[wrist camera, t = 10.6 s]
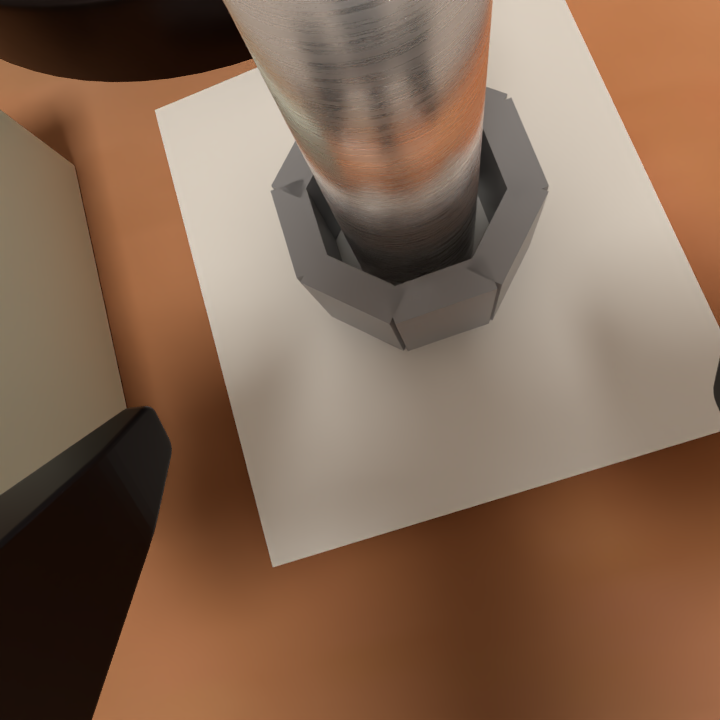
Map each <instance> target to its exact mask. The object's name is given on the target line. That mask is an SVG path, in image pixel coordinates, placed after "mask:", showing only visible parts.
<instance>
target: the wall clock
mask: <svg viewBox="0 0 720 720" xmlns="http://www.w3.org/2000/svg"><path fill="white" fill-rule="evenodd" d="M0 59H2V60H5V61H7V62H9V63H12V64H15V65H18V66H21V67H24V68H27V69H30V70H33V71H36V72H41V73H45V74H49V75H53V76H58V77H64V78H71V79H78V80H86V81H104V82H132V81H149V80H159V79H169V78H175V77H181V76H186V75H192V74H198V73H203V72H207V71H211V70H215V69H219V68H223V67H227V66H231V65H234V64H237V63H240V62H243V61H246V60H249V59H252V56H251V54H250V52H249V50H248V48H247V46H246V44H245V42H244V40H243V38H242V36H241V35H240V33H239V31H238V29H237V27H236V25H235V23H234V21H233V19H232V17H231V15H230V13H229V11H228V9H227V7H226V5H225V4H224V2H223V0H0Z"/></svg>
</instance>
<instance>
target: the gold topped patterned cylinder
mask: <svg viewBox="0 0 720 720" xmlns="http://www.w3.org/2000/svg"><path fill="white" fill-rule="evenodd" d="M223 2H224V4H225V5H226V7H227V9H228V11H229V13H230V15H231V17H232V19H233V21H234V23H235V25H236V27H237V29H238V31H239V33H240V35H241V36H242V38H243V40H244V42H245V44H246V46H247V48H248V50H249V52H250V54H251V56H252V58H253V60H254V62H255V64H256V65H257V67H258V69H259V71H260V73H261V75H262V77H263V79H264V81H265V83H266V85H267V87H268V89H269V91H270V93H271V95H272V96H273V98H274V100H275V102H276V104H277V106H278V108H279V110H280V112H281V114H282V116H283V118H284V120H285V122H286V124H287V125H288V127H289V129H290V131H291V133H292V135H293V137H294V139H295V141H296V143H297V145H298V147H299V149H300V151H301V153H302V154H303V156H304V158H305V160H306V162H307V164H308V166H309V168H310V170H311V172H312V174H313V176H314V178H315V180H316V182H317V184H318V185H319V187H320V189H321V191H322V193H323V195H324V197H325V199H326V201H327V203H328V205H329V207H330V209H331V211H332V213H333V214H334V216H335V218H336V220H337V222H338V224H339V226H340V228H341V230H342V232H343V234H344V236H345V238H346V240H347V242H348V244H349V245H350V247H351V249H352V251H353V253H354V255H355V257H356V259H357V261H358V263H359V265H360V267H361V269H362V271H364V272H366V273H368V274H370V275H373V276H375V277H377V278H379V279H381V280H384V281H386V282H388V283H390V284H393V285H395V286H396V285H399V284H402V283H405V282H407V281H410V280H413V279H416V278H419V277H421V276H424V275H427V274H430V273H433V272H435V271H438V270H441V269H444V268H447V267H450V266H452V265H455V264H458V263H461V262H464V261H466V260H469V259H471V257H472V253H473V246H474V234H475V221H476V209H477V196H478V183H479V170H480V157H481V144H482V132H483V119H484V106H485V93H486V80H487V67H488V55H489V42H490V29H491V16H492V3H493V0H223Z"/></svg>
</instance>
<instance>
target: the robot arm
mask: <svg viewBox="0 0 720 720" xmlns="http://www.w3.org/2000/svg"><path fill="white" fill-rule="evenodd" d="M713 393H714V399H715V402H716V404H717V407H718V409H719V411H720V358H719V363H718V367H717V372H716V376H715V381H714V386H713ZM171 451H172V448H171V443H170V440H169V437H168V436H167V434H166V432H165V430H164V428H163V426H162V424H161V422H160V420H159V418H158V416H157V414H156V412H155V411H154V409H152V408H151V407H149V406H139V407H130V408H126V409H124V410H122V411H121V412H120V413H118V414H117V415H115V416H114V417H112V418H111V419H109V420H108V421H107V422H105V423H104V424H102V425H101V426H99V427H98V428H96V429H95V430H94V431H92V432H91V433H89V434H88V435H86V436H85V437H83V438H82V439H80V440H79V441H78V442H76V443H75V444H73V445H72V446H70V447H69V448H67V449H66V450H65V451H63V452H62V453H60V454H59V455H57V456H56V457H54V458H53V459H52V460H50V461H49V462H47V463H46V464H44V465H43V466H41V467H40V468H38V469H37V470H36V471H34V472H33V473H31V474H30V475H28V476H27V477H25V478H24V479H23V480H21V481H20V482H18V483H17V484H15V485H14V486H12V487H11V488H10V489H8V490H7V491H5V492H4V493H2V494H1V495H0V720H92V718H93V715H94V712H95V709H96V706H97V703H98V700H99V697H100V694H101V691H102V688H103V685H104V682H105V679H106V676H107V673H108V670H109V667H110V664H111V661H112V658H113V655H114V652H115V649H116V646H117V643H118V640H119V637H120V634H121V631H122V628H123V625H124V622H125V619H126V616H127V613H128V610H129V607H130V604H131V601H132V598H133V595H134V592H135V589H136V586H137V583H138V580H139V577H140V574H141V571H142V568H143V565H144V562H145V559H146V556H147V553H148V550H149V547H150V544H151V541H152V537H153V534H154V530H155V526H156V522H157V518H158V514H159V509H160V504H161V500H162V495H163V491H164V486H165V481H166V477H167V472H168V468H169V463H170V458H171Z"/></svg>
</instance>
